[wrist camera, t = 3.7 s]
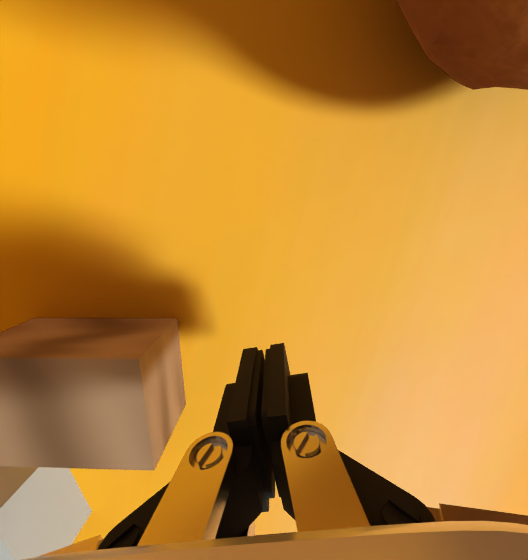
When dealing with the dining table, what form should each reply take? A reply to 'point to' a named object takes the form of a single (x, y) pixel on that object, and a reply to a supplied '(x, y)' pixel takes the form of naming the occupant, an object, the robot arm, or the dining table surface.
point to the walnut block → (89, 392)
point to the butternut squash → (473, 39)
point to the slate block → (39, 511)
